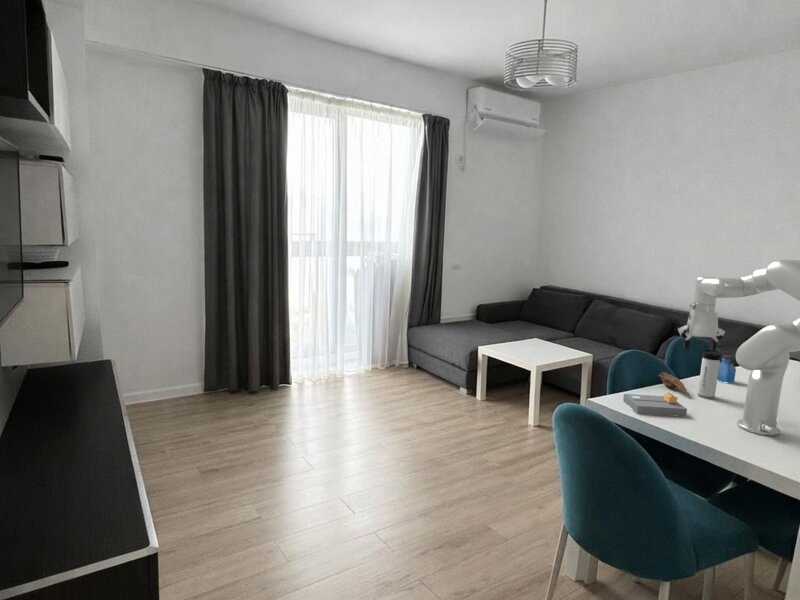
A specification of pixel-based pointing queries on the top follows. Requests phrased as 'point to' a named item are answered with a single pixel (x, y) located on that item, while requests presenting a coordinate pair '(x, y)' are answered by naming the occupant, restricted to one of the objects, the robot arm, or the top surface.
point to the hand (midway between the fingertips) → (699, 350)
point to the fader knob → (670, 398)
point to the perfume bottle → (726, 370)
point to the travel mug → (709, 374)
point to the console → (653, 405)
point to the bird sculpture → (672, 381)
